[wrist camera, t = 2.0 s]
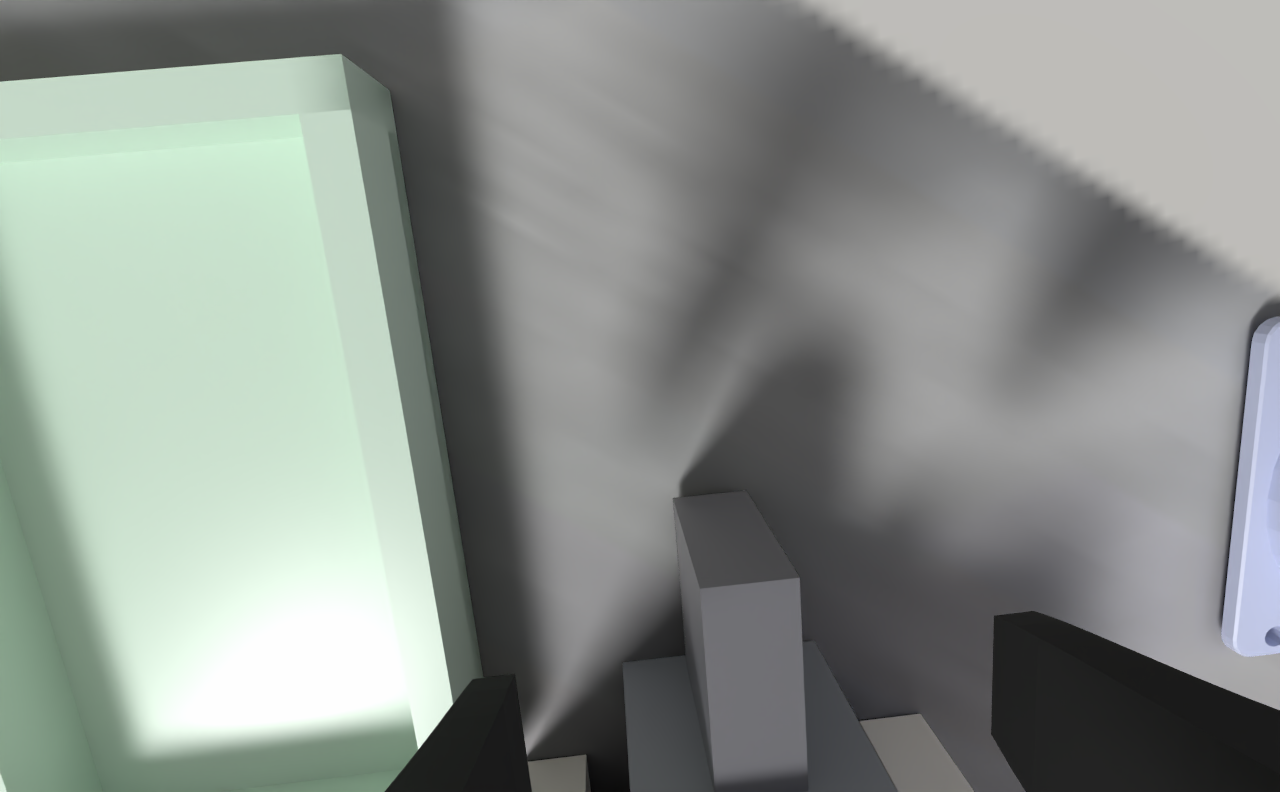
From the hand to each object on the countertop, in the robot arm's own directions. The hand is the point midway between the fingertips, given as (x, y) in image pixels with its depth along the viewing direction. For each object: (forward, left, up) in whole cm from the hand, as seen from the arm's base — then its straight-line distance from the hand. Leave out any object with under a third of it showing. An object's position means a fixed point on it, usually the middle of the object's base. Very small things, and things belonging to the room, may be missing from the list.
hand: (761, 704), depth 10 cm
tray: (+10, -2, -5) cm, 12 cm away
